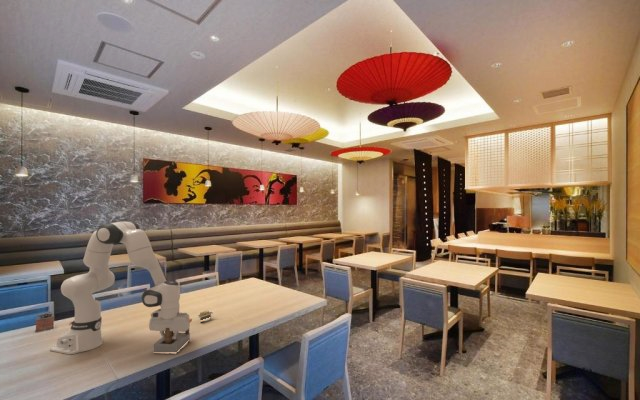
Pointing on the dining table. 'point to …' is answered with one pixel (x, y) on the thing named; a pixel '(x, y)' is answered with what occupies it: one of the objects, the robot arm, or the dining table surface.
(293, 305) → the dining table surface
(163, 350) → the socket stand
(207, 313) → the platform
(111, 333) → the dining table surface
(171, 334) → the walnut peg
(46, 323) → the brick wall piece
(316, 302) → the dining table surface
